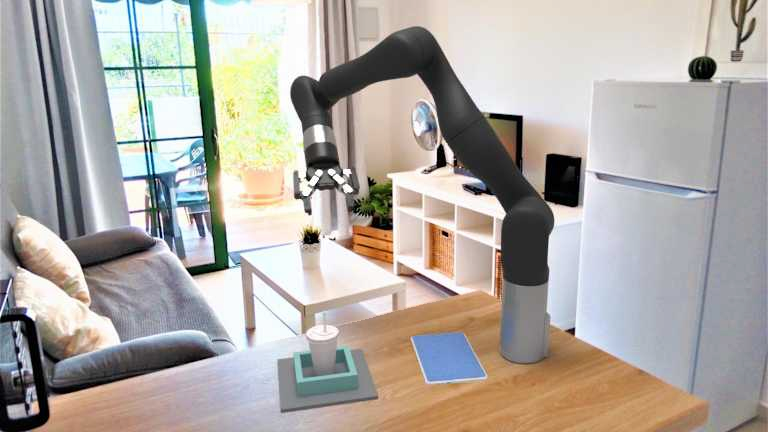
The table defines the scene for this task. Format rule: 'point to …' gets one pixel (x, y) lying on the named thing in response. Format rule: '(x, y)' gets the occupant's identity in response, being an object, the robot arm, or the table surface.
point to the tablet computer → (447, 359)
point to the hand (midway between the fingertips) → (330, 212)
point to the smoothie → (323, 347)
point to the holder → (324, 381)
